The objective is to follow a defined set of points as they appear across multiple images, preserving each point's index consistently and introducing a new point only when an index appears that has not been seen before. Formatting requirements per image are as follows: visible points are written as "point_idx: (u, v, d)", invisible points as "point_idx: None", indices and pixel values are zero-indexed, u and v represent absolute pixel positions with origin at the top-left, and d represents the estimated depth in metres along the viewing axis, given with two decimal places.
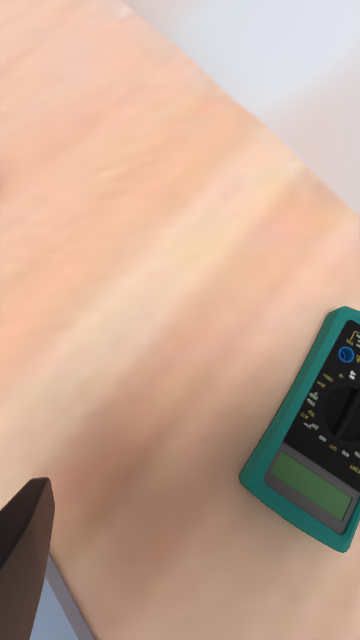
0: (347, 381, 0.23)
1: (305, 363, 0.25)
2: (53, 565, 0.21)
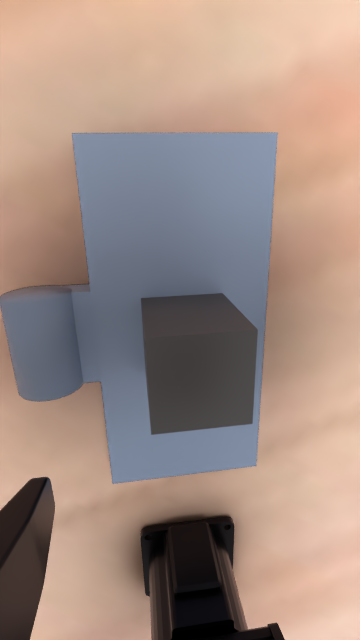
0: None
1: None
2: None
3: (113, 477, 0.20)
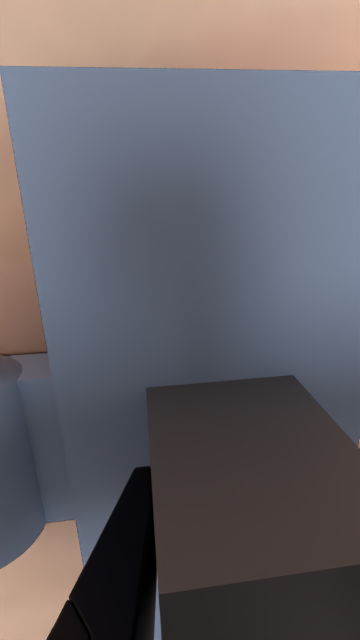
0: None
1: None
2: None
3: None
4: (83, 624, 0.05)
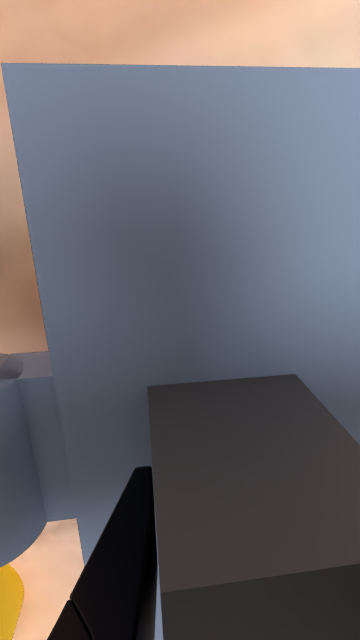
0: None
1: None
2: None
3: None
4: (84, 624, 0.05)
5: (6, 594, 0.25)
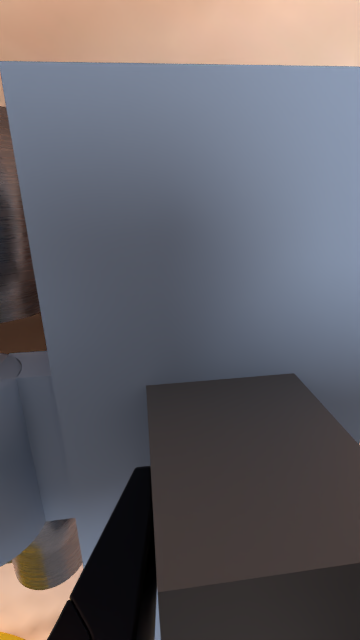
0: None
1: None
2: None
3: None
4: (84, 624, 0.05)
5: None
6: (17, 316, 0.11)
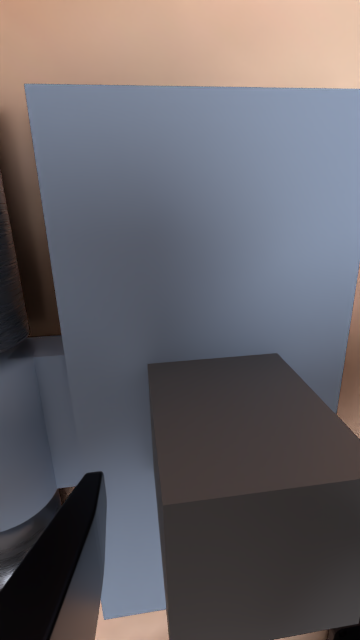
0: None
1: None
2: None
3: (105, 612, 0.13)
4: None
5: None
6: None
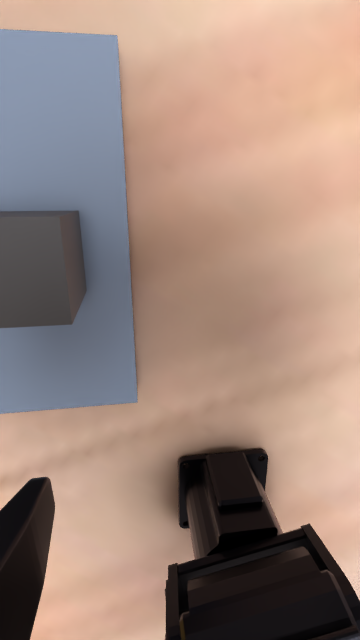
0: None
1: None
2: None
3: None
4: None
5: None
6: None
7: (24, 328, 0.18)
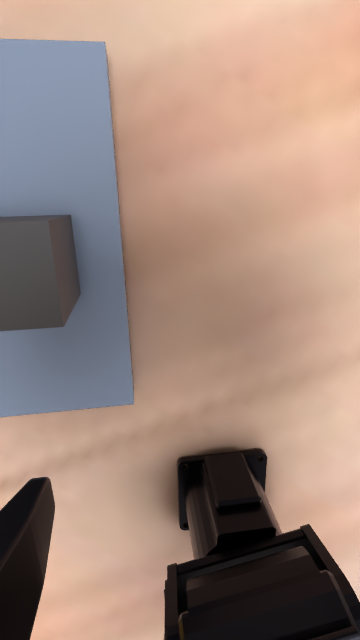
0: None
1: None
2: None
3: None
4: None
5: None
6: None
7: (19, 332, 0.18)
